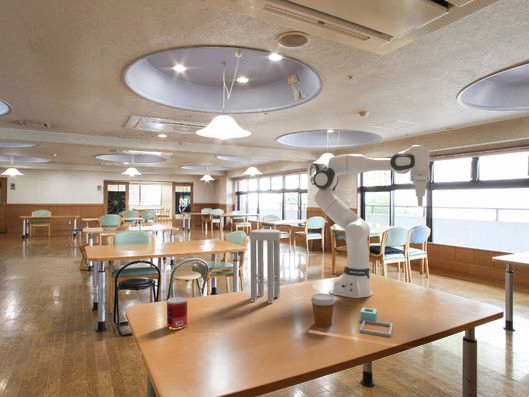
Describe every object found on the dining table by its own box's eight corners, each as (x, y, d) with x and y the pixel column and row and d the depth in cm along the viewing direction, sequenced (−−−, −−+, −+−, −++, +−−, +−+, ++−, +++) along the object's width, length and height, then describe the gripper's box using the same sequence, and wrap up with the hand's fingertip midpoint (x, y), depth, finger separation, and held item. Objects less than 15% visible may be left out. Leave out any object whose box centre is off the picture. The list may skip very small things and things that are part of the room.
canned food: (190, 324, 136) (190, 297, 136) (179, 331, 128) (179, 303, 128) (174, 322, 138) (174, 295, 138) (163, 329, 131) (162, 301, 131)
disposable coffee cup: (320, 333, 126) (320, 301, 126) (306, 324, 134) (306, 295, 134) (340, 328, 130) (340, 298, 130) (325, 320, 138) (325, 292, 138)
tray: (359, 334, 124) (359, 329, 124) (363, 324, 134) (363, 319, 134) (390, 339, 119) (390, 334, 119) (392, 328, 129) (392, 323, 129)
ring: (360, 320, 136) (360, 311, 136) (362, 315, 141) (362, 307, 141) (375, 322, 133) (375, 313, 133) (377, 317, 139) (377, 309, 139)
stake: (358, 322, 136) (358, 310, 136) (361, 317, 142) (361, 305, 142) (376, 325, 133) (376, 313, 133) (378, 319, 139) (378, 307, 139)
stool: (245, 301, 164) (244, 231, 164) (257, 293, 179) (257, 228, 179) (274, 305, 159) (273, 232, 159) (284, 296, 173) (284, 229, 173)
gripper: (413, 179, 174) (413, 205, 175) (413, 177, 156) (413, 206, 156) (426, 178, 172) (426, 205, 172) (427, 176, 153) (428, 206, 153)
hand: (420, 205), depth 164 cm, fingers open, 8 cm apart
